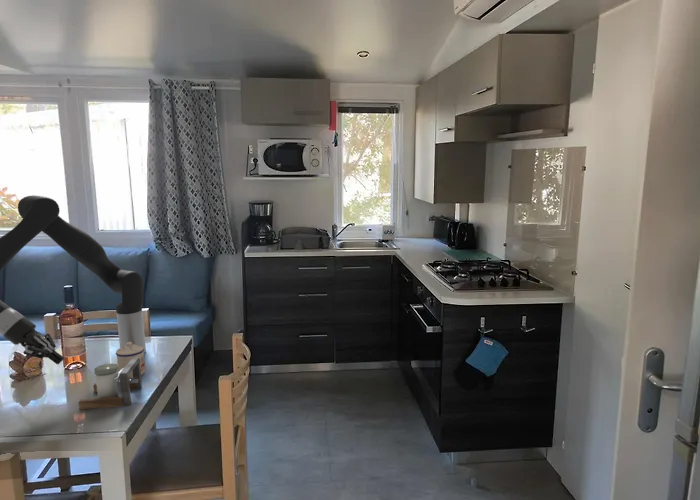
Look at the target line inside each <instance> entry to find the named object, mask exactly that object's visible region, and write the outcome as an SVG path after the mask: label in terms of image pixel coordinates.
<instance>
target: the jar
mask: <svg viewBox="0 0 700 500" xmlns="http://www.w3.org/2000/svg"><path fill="white" fill-rule="evenodd" d="M93 372H94V375H95V376H94V377H95V383H96V385H97V392H96V393H97V398H106V397H115V393H114V383H113V379H114V377H115V376H116V375H117V374H118V373H119V372H118V363H104V364H101V365H98V366H96V367H94V371H93Z"/></svg>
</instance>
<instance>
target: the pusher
mask: <svg viewBox="0 0 700 500" xmlns="http://www.w3.org/2000/svg"><path fill="white" fill-rule="evenodd" d="M123 369H124V368H122V369H121V370H120V371H119V372H118V374H117V375H116V376H115V377H114V379H113V383H114V393H115V397H120V396H122V393H121V383H120V372H121V371H122V370H123ZM130 383H138V379H133V378H131V379H129V384H130Z"/></svg>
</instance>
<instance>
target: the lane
mask: <svg viewBox="0 0 700 500" xmlns="http://www.w3.org/2000/svg"><path fill="white" fill-rule="evenodd" d="M132 371H133V378H132V379H138V383H130V384H129V380H130V379H129V374H130V373H131V372H132ZM120 383H121V393H122V396H120V397H106V398H98V397H96V398H83V399H82V398H81V399H80V400H79V401H78V407H79V410H88V409H89V410H90V409H102V408H114V407H115V408H117V406H118V407H129V406H131V404H132V400H131V399H132V397H131V391H133V390H134V391H136V390H141V389H142V388H143V384H142V375H141V372H140V361H139V357H134V358H132V359H131V360H130V361H129V363H128V364H127V365H126V366H125V368H124V369H123V370H122V371H121V372H120ZM92 387H93V393H97V385H96V382H94V384H93V386H92Z"/></svg>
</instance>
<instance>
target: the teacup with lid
mask: <svg viewBox="0 0 700 500" xmlns="http://www.w3.org/2000/svg"><path fill="white" fill-rule="evenodd" d="M143 351H144V348H143V347H142V346H140V345H135V344H132V342H127V343H126V345H125V346H124V347H122V348H120V347H119V348H118V349H117V350H116V352H115V355H116V362H117V363H116V364H117V365H118V373H119V371H120V370H121V369H122V368H125V366H126V365H127V364H128V363H129V361H130V360H131V359H132V358H134V357H139V361H140V372H141V376H143V375H144V374H145V373H146V364H145V355H144V354H145V353H144V352H143ZM131 379H133V371H132V372H131V373H130V374H129V380H131Z"/></svg>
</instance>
